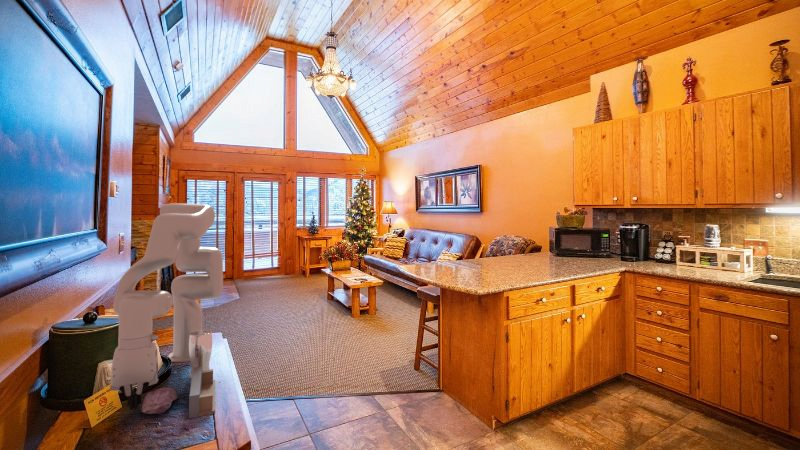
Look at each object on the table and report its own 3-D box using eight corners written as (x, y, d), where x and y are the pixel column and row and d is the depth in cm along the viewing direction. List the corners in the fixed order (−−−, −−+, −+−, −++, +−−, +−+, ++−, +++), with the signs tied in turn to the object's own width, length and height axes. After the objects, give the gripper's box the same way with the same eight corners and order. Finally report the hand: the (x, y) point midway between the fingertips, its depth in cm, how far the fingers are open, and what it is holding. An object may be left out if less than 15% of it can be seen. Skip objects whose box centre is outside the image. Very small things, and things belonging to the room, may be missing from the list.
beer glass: (198, 382, 115) (199, 337, 115) (183, 378, 117) (184, 334, 117) (216, 373, 121) (217, 330, 121) (201, 370, 124) (202, 328, 124)
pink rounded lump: (135, 424, 92) (135, 404, 92) (147, 399, 105) (147, 381, 104) (172, 416, 95) (172, 398, 95) (179, 393, 108) (179, 376, 108)
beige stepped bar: (193, 386, 112) (193, 367, 112) (215, 382, 115) (215, 364, 115) (188, 418, 95) (189, 396, 95) (214, 413, 98) (215, 391, 98)
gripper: (169, 334, 104) (168, 395, 104) (105, 340, 97) (104, 406, 97) (166, 342, 97) (164, 408, 97) (96, 350, 90) (95, 421, 90)
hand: (134, 407), depth 97 cm, fingers closed
